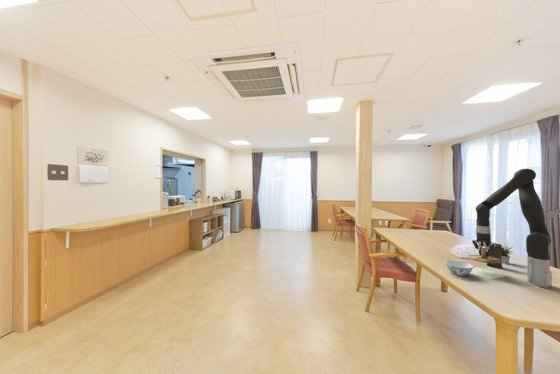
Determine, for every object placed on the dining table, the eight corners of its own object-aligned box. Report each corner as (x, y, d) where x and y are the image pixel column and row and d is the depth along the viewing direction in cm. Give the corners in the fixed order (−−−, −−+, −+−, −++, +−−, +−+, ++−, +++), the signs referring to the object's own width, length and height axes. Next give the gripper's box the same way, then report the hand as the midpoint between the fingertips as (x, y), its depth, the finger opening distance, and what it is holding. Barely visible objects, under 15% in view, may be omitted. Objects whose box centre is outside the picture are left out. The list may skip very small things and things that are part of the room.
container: (504, 270, 161) (504, 246, 161) (487, 267, 166) (487, 244, 166) (501, 266, 168) (501, 243, 168) (485, 264, 173) (485, 242, 173)
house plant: (486, 260, 181) (486, 241, 181) (494, 258, 186) (493, 239, 186) (509, 266, 168) (509, 245, 168) (517, 263, 174) (517, 243, 173)
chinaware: (478, 280, 144) (478, 268, 144) (453, 278, 147) (453, 267, 147) (464, 271, 159) (464, 261, 159) (441, 269, 162) (441, 259, 162)
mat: (506, 276, 149) (506, 276, 149) (490, 280, 144) (490, 279, 144) (477, 267, 165) (477, 267, 165) (462, 270, 160) (462, 269, 160)
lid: (507, 261, 149) (506, 250, 149) (491, 264, 143) (491, 252, 144) (478, 255, 165) (477, 244, 165) (463, 257, 160) (462, 246, 160)
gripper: (499, 233, 149) (500, 258, 149) (475, 230, 162) (476, 253, 162) (492, 234, 147) (493, 259, 146) (468, 230, 160) (469, 254, 160)
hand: (484, 256), depth 154 cm, fingers closed on lid, 3 cm apart
